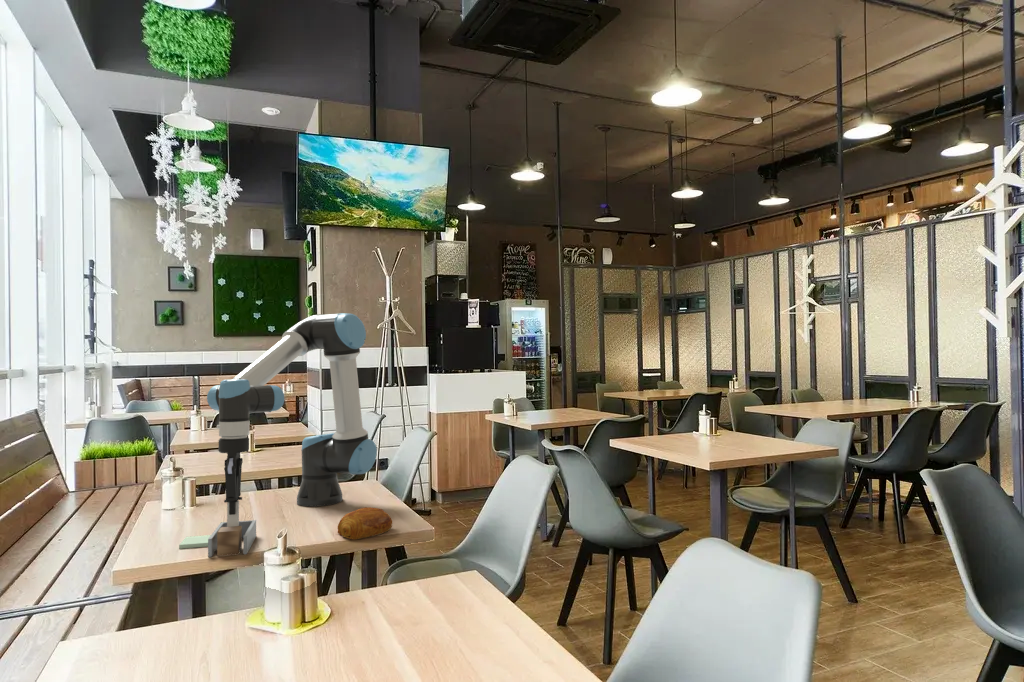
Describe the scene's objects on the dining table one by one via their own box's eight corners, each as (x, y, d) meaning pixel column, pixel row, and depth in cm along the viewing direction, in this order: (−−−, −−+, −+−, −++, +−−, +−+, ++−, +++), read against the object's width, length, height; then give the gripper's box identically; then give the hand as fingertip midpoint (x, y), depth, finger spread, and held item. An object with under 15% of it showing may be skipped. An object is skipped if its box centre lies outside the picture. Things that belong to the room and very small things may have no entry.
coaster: (218, 538, 180) (218, 534, 180) (212, 546, 172) (212, 542, 172) (186, 540, 178) (186, 536, 178) (179, 548, 170) (179, 544, 170)
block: (241, 548, 170) (241, 525, 170) (238, 554, 165) (238, 530, 165) (221, 550, 168) (221, 527, 168) (217, 556, 163) (217, 532, 164)
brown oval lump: (400, 539, 184) (403, 511, 185) (353, 543, 173) (357, 513, 174) (371, 529, 194) (374, 502, 195) (324, 532, 183) (328, 503, 184)
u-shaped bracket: (256, 536, 181) (256, 520, 181) (246, 553, 165) (246, 536, 165) (221, 538, 179) (221, 522, 179) (208, 557, 163) (208, 539, 163)
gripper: (223, 434, 179) (222, 521, 178) (213, 440, 166) (212, 533, 165) (252, 434, 181) (251, 519, 180) (245, 439, 168) (244, 531, 167)
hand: (233, 525), depth 173 cm, fingers closed
